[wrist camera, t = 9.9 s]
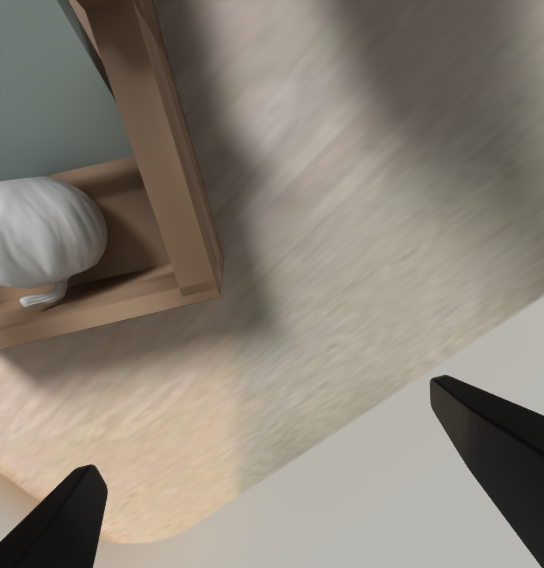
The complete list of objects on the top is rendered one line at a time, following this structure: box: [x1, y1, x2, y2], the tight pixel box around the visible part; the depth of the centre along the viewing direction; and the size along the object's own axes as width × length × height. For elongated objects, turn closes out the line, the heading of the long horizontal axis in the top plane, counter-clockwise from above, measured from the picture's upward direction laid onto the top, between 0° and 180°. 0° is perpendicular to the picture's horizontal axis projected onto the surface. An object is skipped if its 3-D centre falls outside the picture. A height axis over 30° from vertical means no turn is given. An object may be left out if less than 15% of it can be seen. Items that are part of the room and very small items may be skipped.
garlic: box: [0, 176, 107, 308], centre depth 14 cm, size 6×5×5 cm
